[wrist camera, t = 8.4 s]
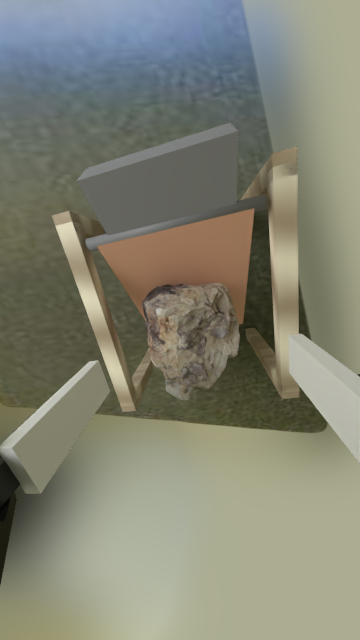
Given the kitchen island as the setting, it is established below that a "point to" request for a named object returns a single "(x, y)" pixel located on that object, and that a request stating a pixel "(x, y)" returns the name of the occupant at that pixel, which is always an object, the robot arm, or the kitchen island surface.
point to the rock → (191, 334)
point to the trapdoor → (175, 216)
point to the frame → (283, 230)
